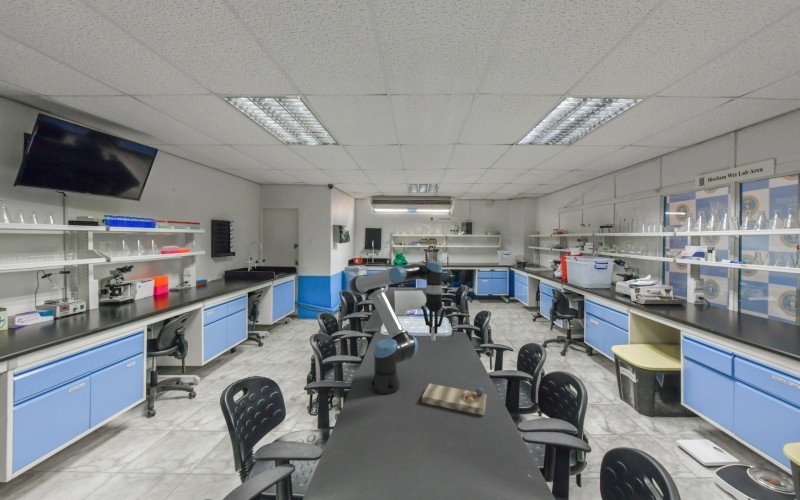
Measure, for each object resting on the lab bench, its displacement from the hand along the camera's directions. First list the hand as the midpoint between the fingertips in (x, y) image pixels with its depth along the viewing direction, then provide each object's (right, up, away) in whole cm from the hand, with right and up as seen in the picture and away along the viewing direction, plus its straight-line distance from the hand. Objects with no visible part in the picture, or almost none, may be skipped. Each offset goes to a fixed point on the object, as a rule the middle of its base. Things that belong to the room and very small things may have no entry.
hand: (433, 339), depth 148 cm
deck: (+9, -27, -7) cm, 29 cm away
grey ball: (+21, -22, -7) cm, 32 cm away
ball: (+16, -25, -10) cm, 32 cm away
